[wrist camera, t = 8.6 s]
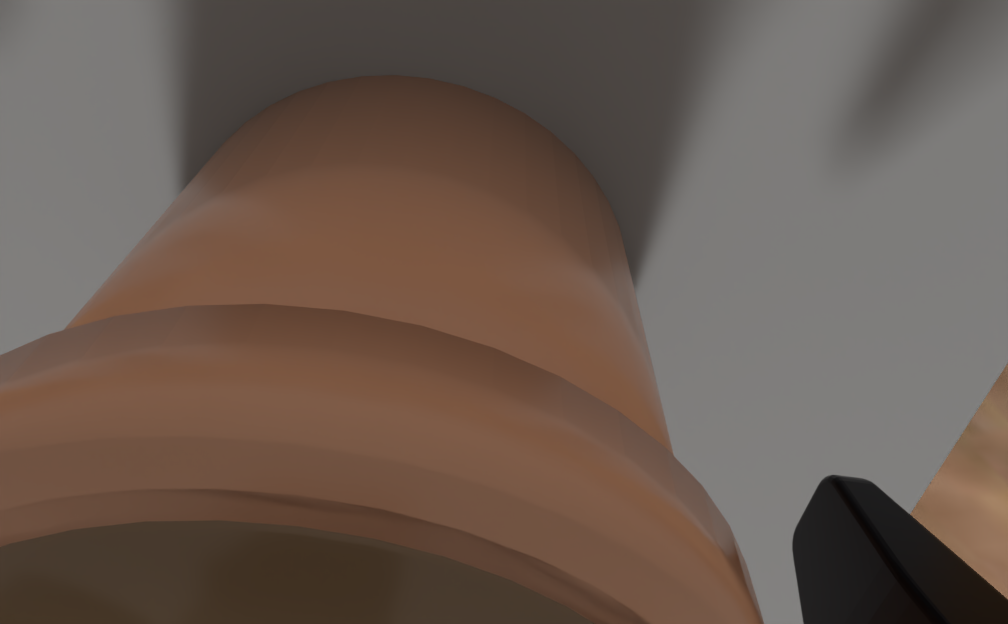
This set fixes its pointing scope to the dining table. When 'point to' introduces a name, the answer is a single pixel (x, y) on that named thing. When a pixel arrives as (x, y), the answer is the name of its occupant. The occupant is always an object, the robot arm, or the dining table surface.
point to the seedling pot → (361, 395)
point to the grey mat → (609, 195)
